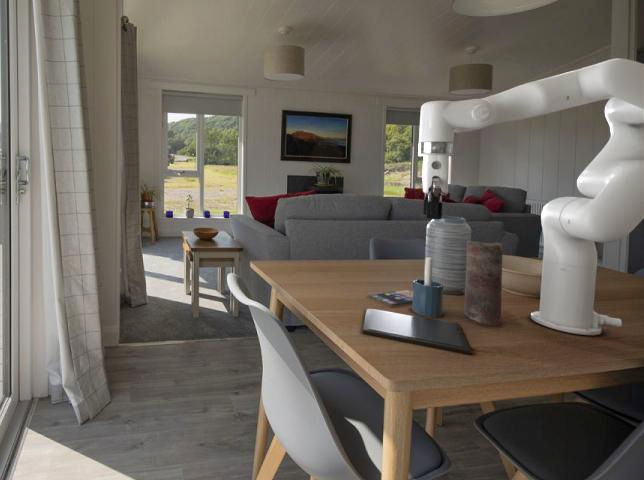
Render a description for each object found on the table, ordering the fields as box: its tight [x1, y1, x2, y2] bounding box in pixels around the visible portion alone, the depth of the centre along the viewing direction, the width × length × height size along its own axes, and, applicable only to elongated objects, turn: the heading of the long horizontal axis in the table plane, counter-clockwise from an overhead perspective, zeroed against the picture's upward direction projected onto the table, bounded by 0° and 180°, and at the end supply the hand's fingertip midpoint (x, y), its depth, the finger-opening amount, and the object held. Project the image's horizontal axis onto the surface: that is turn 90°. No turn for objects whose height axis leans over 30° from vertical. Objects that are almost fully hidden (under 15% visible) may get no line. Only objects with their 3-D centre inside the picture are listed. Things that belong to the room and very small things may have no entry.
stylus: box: [424, 258, 433, 286], centre depth 102 cm, size 2×2×14 cm
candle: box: [464, 240, 504, 326], centre depth 97 cm, size 8×7×20 cm
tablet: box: [362, 307, 472, 355], centre depth 91 cm, size 20×16×1 cm
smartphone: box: [368, 289, 413, 306], centre depth 112 cm, size 8×15×1 cm, turn 111°
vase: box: [423, 215, 472, 296], centre depth 122 cm, size 12×12×23 cm
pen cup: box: [411, 278, 444, 317], centre depth 102 cm, size 7×7×8 cm
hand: (431, 216), depth 101 cm, fingers open, 9 cm apart
